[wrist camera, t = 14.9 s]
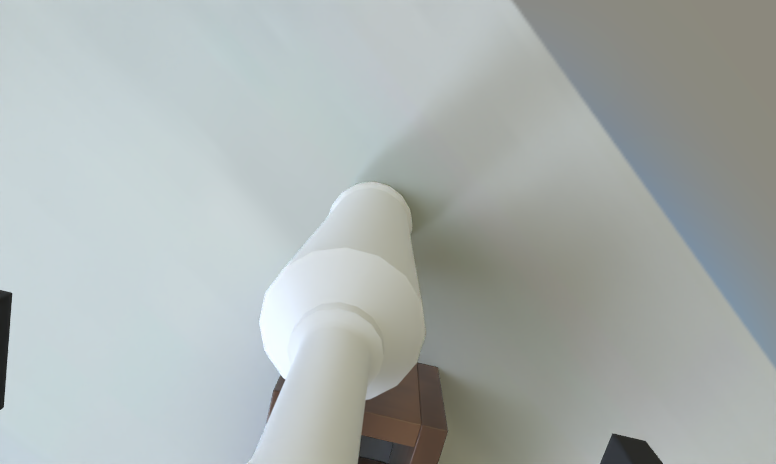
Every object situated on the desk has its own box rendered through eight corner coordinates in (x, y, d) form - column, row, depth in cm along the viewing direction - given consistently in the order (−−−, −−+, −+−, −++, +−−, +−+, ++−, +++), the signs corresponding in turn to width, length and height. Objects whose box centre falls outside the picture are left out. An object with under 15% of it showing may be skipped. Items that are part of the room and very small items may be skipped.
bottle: (408, 260, 32) (442, 740, 7) (329, 255, 32) (99, 714, 7) (415, 181, 30) (479, 439, 6) (333, 176, 30) (69, 409, 6)
